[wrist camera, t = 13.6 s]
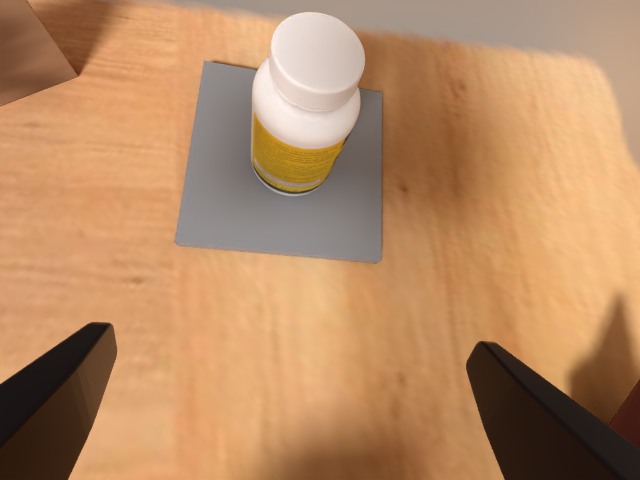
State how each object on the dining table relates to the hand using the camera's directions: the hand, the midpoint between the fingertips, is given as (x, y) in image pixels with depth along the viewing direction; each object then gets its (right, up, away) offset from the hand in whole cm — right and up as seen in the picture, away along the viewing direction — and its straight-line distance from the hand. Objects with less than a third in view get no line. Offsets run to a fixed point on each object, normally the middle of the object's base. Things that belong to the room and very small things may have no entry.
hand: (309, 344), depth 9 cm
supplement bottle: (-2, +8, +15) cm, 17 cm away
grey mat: (-2, +8, +16) cm, 18 cm away
